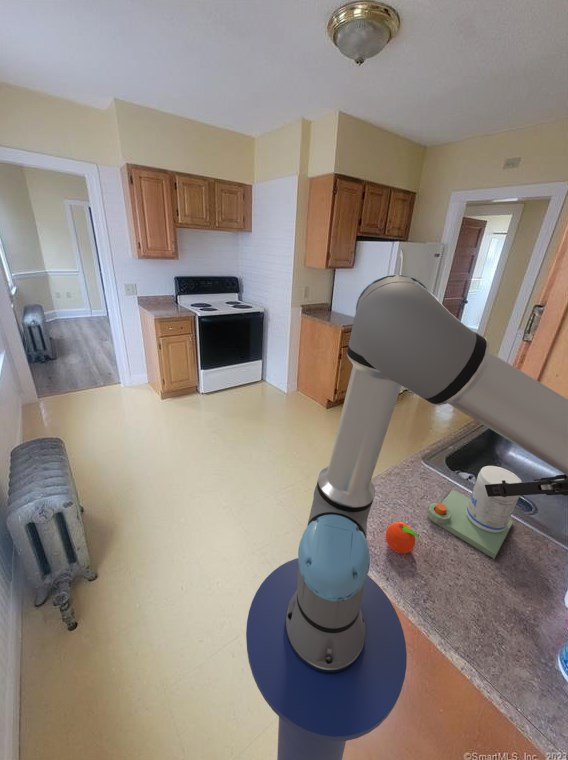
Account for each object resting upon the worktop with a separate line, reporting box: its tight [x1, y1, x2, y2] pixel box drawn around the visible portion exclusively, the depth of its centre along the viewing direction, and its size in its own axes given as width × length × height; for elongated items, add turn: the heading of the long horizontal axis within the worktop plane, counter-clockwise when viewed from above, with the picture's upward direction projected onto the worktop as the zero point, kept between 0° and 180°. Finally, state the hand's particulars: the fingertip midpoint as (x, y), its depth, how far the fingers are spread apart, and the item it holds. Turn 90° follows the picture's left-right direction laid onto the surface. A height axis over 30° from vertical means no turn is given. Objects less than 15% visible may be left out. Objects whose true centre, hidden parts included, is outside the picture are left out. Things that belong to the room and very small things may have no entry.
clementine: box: [385, 521, 421, 554], centre depth 79 cm, size 8×7×7 cm
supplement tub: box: [466, 465, 523, 533], centre depth 84 cm, size 10×10×15 cm
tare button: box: [435, 502, 447, 515], centre depth 87 cm, size 3×3×2 cm
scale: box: [427, 489, 514, 559], centre depth 87 cm, size 17×16×4 cm
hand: (512, 487), depth 77 cm, fingers open, 13 cm apart
